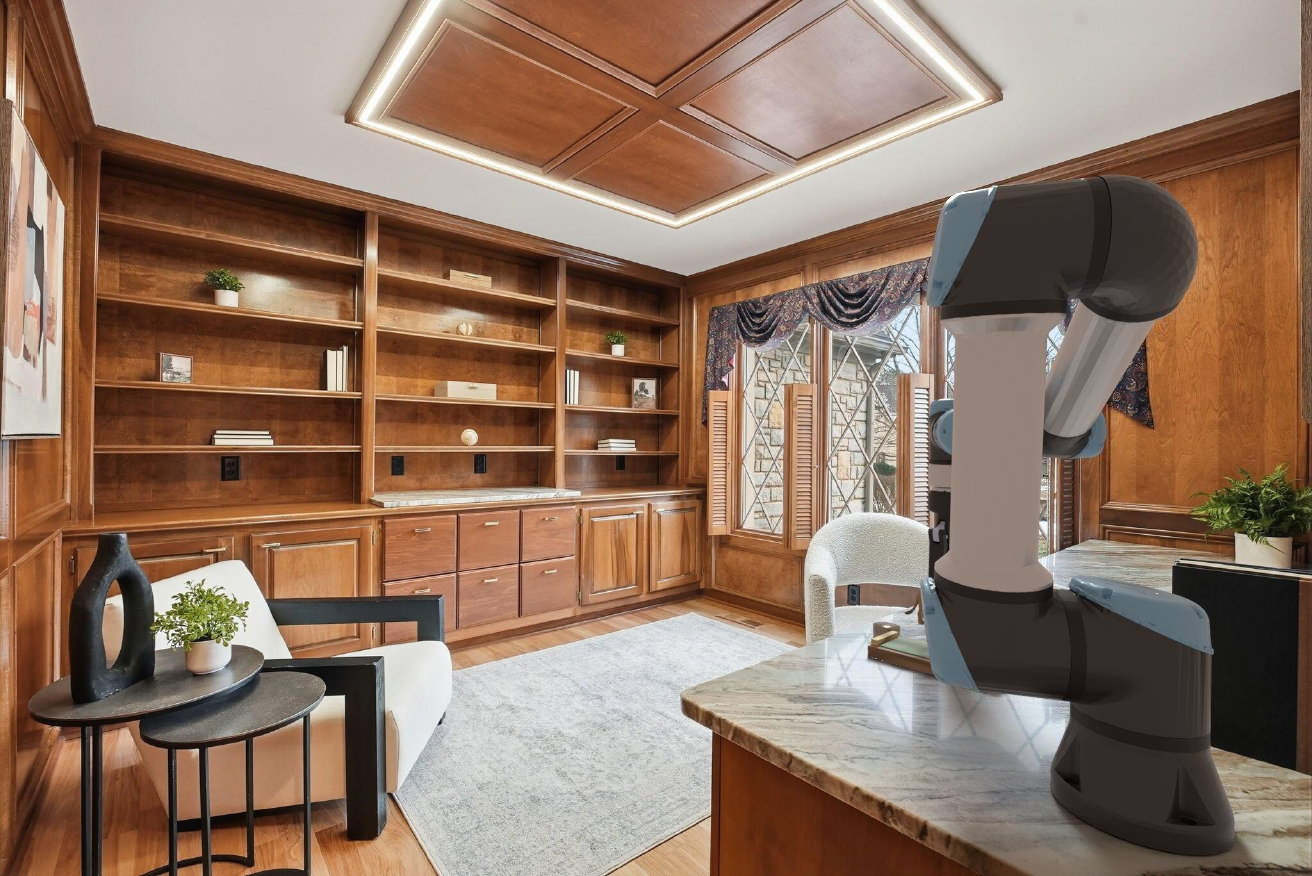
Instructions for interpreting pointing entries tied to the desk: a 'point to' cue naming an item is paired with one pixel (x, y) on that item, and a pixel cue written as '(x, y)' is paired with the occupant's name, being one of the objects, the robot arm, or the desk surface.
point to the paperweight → (884, 628)
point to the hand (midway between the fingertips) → (950, 625)
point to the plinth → (901, 651)
